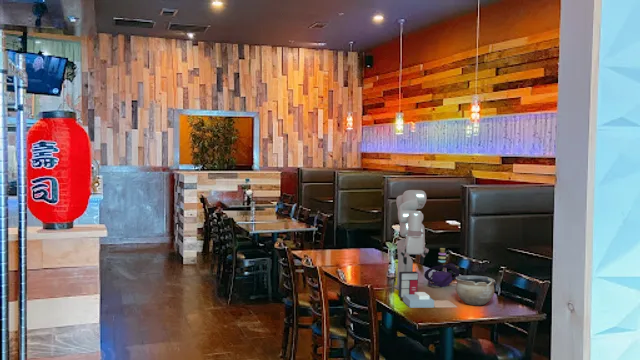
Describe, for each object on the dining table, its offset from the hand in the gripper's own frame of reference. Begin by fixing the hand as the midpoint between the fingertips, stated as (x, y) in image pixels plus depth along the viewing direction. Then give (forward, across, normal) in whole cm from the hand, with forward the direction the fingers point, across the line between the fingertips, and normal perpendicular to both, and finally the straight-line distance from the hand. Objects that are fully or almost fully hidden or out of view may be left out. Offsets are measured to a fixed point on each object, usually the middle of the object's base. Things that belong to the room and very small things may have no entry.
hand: (413, 263), depth 317 cm
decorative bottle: (+23, -36, -48) cm, 64 cm away
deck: (+24, -4, -3) cm, 24 cm away
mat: (+24, -18, -2) cm, 30 cm away
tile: (+20, -6, -3) cm, 21 cm away
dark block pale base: (+24, -4, -20) cm, 31 cm away
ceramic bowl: (+24, -38, -3) cm, 45 cm away
